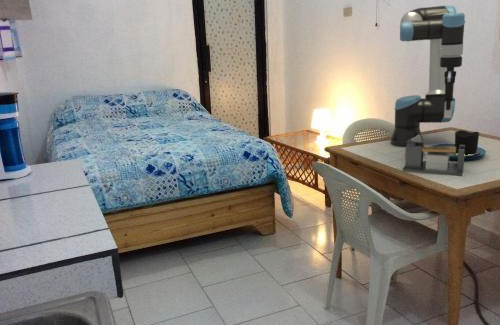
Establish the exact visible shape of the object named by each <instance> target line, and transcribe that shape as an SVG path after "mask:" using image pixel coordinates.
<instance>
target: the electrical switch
mask: <svg viewBox="0 0 500 325" xmlns="http://www.w3.org/2000/svg"><path fill="white" fill-rule="evenodd" d="M409 141H410V142H422V139H421V136H420V135H417V136H416V137H414V138H411V139H409V140H408V141H407V142H406V143H407V144H408V142H409ZM425 154H426V152H423V156H424V155H425Z"/></svg>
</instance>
